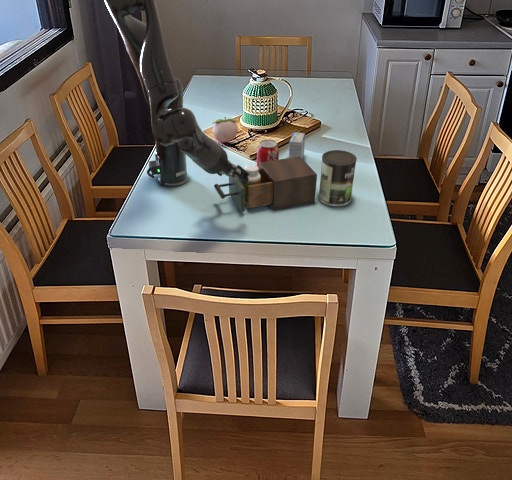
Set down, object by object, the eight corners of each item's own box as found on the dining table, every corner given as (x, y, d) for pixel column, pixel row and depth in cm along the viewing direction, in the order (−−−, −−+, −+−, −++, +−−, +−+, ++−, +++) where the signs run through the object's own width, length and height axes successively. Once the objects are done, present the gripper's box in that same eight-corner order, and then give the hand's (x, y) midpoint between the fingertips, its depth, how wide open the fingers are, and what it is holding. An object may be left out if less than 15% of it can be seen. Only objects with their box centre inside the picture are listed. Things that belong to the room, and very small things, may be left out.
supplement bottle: (244, 201, 173) (244, 172, 167) (241, 192, 177) (241, 164, 171) (261, 200, 174) (262, 171, 168) (258, 191, 178) (259, 163, 172)
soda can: (262, 183, 186) (263, 149, 179) (252, 174, 191) (253, 141, 184) (281, 179, 189) (283, 145, 182) (271, 170, 194) (272, 137, 187)
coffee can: (356, 195, 181) (362, 155, 172) (342, 210, 174) (347, 168, 165) (327, 187, 185) (331, 146, 177) (312, 200, 178) (316, 159, 170)
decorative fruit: (218, 149, 206) (217, 123, 200) (210, 140, 212) (209, 114, 205) (242, 145, 209) (242, 119, 203) (233, 136, 215) (233, 111, 209)
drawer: (223, 215, 169) (223, 191, 164) (212, 196, 177) (211, 173, 173) (280, 205, 174) (281, 182, 169) (266, 187, 182) (267, 165, 178)
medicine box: (300, 166, 197) (302, 142, 191) (288, 164, 197) (289, 141, 192) (304, 156, 203) (305, 133, 197) (291, 154, 203) (292, 131, 198)
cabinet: (273, 210, 173) (274, 181, 167) (258, 190, 183) (259, 162, 177) (314, 202, 177) (317, 174, 171) (298, 183, 187) (300, 156, 181)
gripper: (180, 160, 151) (208, 181, 166) (223, 175, 145) (249, 196, 160) (192, 134, 152) (219, 158, 166) (235, 148, 145) (260, 172, 160)
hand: (234, 176), depth 163 cm, fingers open, 8 cm apart
